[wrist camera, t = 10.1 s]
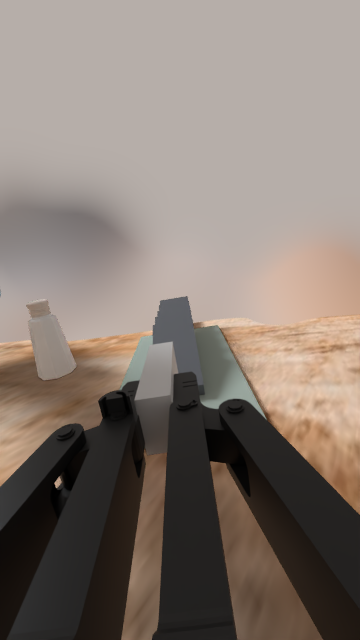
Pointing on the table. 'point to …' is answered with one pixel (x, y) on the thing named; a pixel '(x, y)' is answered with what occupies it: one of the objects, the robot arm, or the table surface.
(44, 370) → the salt shaker
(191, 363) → the domino
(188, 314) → the domino
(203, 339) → the felt mat
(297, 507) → the robot arm
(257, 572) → the table surface
